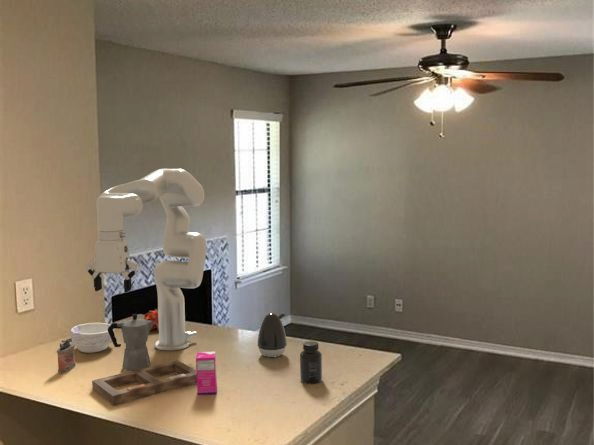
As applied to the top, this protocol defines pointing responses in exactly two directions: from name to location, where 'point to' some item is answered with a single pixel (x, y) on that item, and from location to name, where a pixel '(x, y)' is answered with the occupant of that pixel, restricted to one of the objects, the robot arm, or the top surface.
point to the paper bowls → (91, 337)
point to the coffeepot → (133, 342)
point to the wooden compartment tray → (144, 382)
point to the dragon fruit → (153, 318)
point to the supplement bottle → (310, 363)
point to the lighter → (66, 356)
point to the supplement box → (206, 373)
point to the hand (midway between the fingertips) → (112, 290)
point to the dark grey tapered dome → (272, 336)
